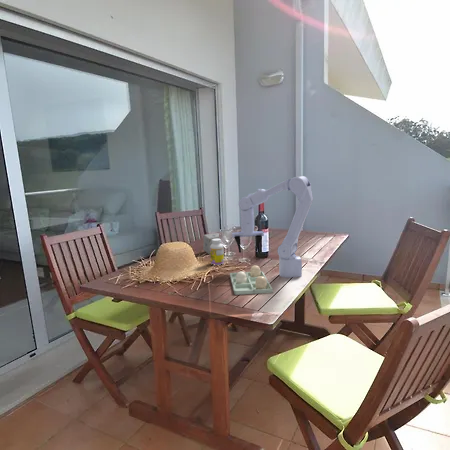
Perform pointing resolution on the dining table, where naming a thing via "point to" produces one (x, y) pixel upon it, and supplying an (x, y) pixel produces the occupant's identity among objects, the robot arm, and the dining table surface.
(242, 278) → the cream egg
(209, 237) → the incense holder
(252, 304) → the dining table surface
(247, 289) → the egg tray
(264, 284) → the tan egg
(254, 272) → the tan egg
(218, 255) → the supplement bottle
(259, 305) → the dining table surface
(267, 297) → the dining table surface
